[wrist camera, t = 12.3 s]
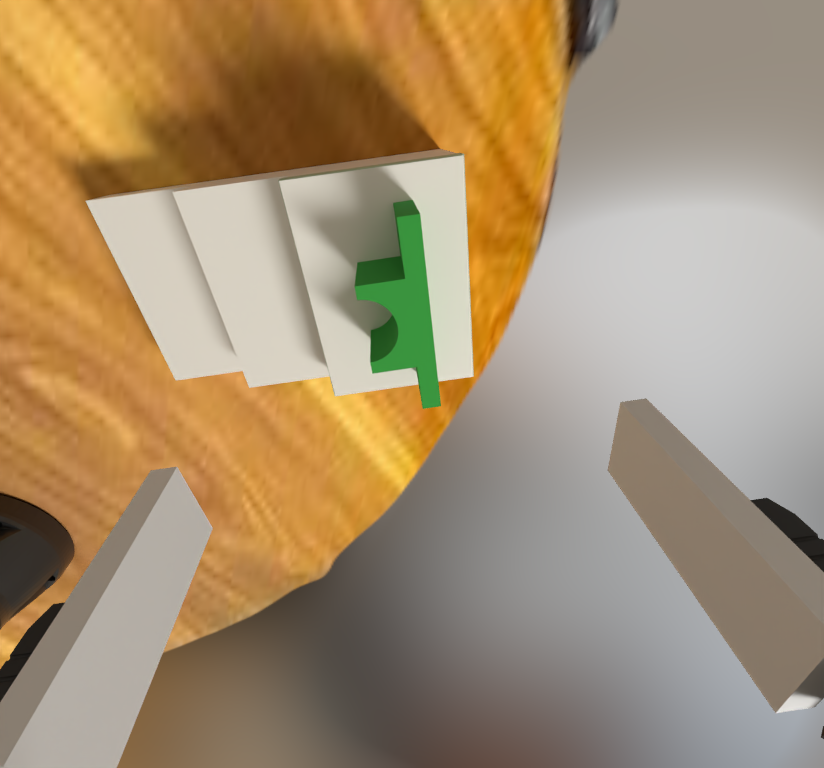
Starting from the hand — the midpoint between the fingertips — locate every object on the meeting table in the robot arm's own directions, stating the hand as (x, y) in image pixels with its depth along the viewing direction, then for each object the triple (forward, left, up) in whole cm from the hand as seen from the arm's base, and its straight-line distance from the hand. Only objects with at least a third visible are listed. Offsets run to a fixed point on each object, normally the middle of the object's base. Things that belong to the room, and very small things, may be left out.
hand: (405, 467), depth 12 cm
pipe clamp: (0, 0, -16) cm, 16 cm away
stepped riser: (-7, 0, -25) cm, 26 cm away
